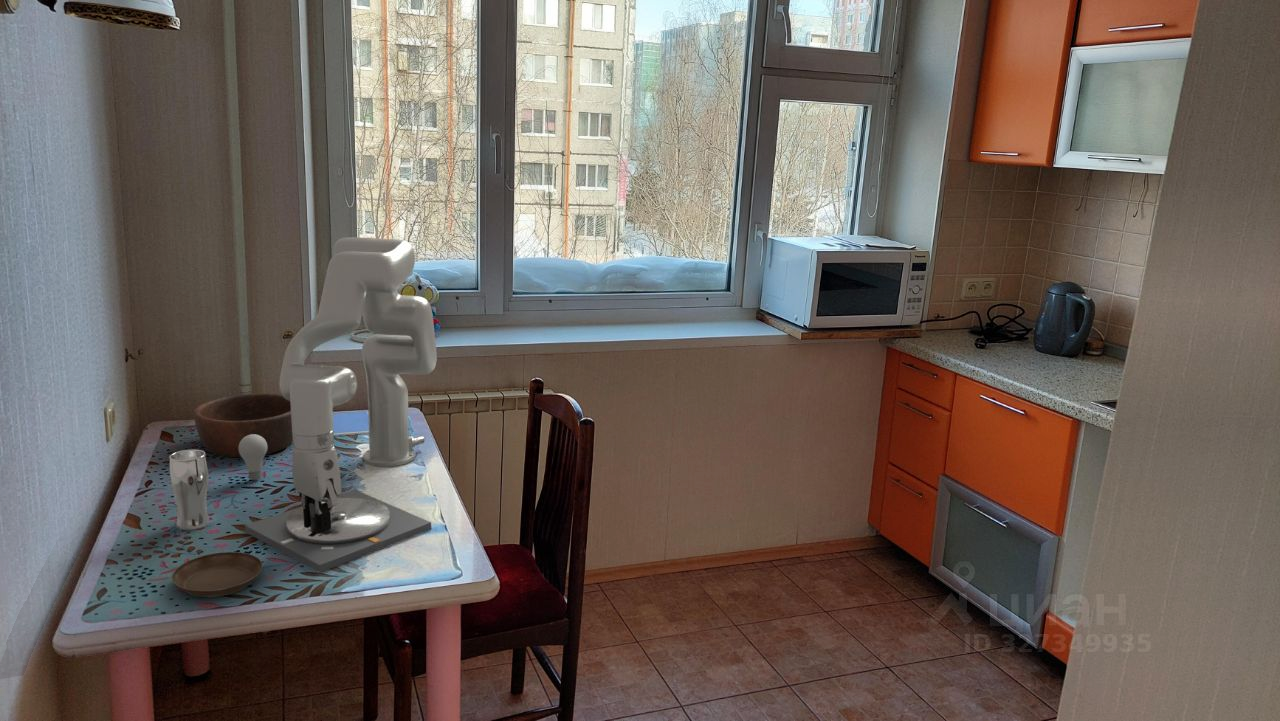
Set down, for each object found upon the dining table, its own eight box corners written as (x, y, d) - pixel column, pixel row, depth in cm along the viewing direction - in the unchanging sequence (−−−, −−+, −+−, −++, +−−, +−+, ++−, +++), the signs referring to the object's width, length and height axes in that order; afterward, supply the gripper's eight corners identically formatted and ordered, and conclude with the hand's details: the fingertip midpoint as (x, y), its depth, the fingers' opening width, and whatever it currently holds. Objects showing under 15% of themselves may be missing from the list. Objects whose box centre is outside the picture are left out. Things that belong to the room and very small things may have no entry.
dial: (323, 497, 198) (322, 466, 196) (407, 510, 193) (406, 478, 192) (265, 535, 179) (262, 501, 177) (356, 550, 175) (355, 515, 173)
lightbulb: (275, 478, 212) (272, 433, 210) (254, 487, 207) (251, 441, 204) (255, 473, 215) (253, 429, 212) (234, 482, 209) (231, 436, 207)
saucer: (281, 575, 168) (280, 562, 167) (215, 612, 155) (214, 597, 154) (222, 558, 174) (221, 545, 173) (153, 591, 161) (152, 577, 160)
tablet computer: (322, 417, 259) (322, 413, 259) (368, 414, 264) (368, 409, 263) (327, 439, 242) (326, 434, 241) (376, 435, 246) (376, 430, 246)
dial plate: (355, 495, 204) (354, 488, 204) (431, 529, 189) (431, 521, 189) (245, 531, 184) (244, 524, 184) (320, 572, 169) (319, 564, 169)
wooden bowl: (301, 426, 249) (300, 390, 247) (303, 457, 227) (301, 417, 224) (200, 433, 241) (197, 396, 238) (191, 466, 218) (188, 425, 215)
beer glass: (175, 519, 189) (169, 450, 185) (212, 515, 191) (207, 447, 188) (173, 533, 183) (166, 462, 179) (211, 528, 185) (206, 458, 182)
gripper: (355, 445, 173) (358, 535, 177) (307, 425, 183) (311, 511, 187) (319, 454, 167) (324, 547, 171) (272, 433, 177) (277, 522, 181)
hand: (317, 527), depth 179 cm, fingers closed on dial, 3 cm apart
